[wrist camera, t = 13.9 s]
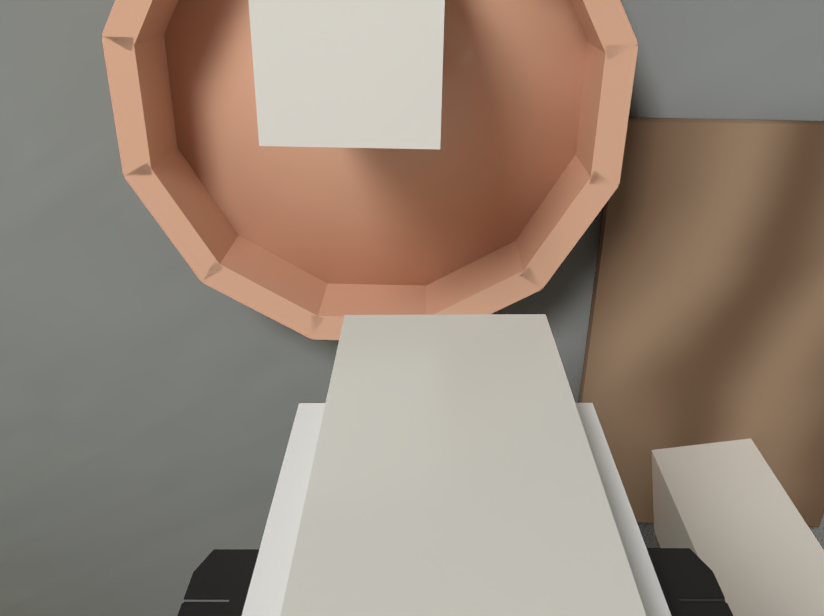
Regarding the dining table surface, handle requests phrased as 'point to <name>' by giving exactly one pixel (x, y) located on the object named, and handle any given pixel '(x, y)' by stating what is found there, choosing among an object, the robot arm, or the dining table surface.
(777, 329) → the board
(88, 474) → the dining table surface
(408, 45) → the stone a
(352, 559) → the off-white rectangular block
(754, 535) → the off-white square pillar
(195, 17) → the bowl
